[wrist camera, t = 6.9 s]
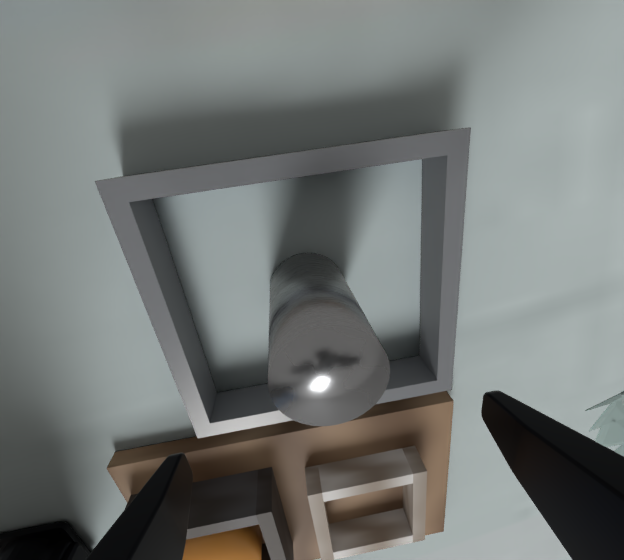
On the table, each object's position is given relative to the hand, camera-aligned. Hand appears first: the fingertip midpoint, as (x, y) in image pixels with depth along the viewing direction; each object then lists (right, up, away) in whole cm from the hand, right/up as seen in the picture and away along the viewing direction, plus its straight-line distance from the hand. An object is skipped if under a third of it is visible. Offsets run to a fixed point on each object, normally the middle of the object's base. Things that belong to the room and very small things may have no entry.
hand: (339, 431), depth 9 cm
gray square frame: (-1, +4, +9) cm, 10 cm away
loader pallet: (-2, -13, +16) cm, 21 cm away
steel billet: (-1, +4, +9) cm, 10 cm away
